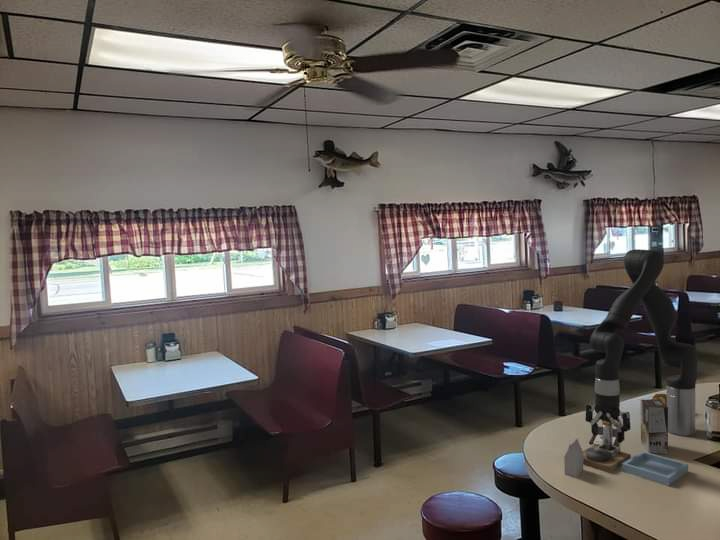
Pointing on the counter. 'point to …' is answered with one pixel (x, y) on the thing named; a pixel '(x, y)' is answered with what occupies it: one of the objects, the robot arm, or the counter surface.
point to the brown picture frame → (599, 437)
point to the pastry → (661, 398)
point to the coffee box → (654, 426)
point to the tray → (655, 468)
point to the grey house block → (574, 459)
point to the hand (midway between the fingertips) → (607, 438)
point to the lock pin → (607, 436)
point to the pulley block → (604, 458)
